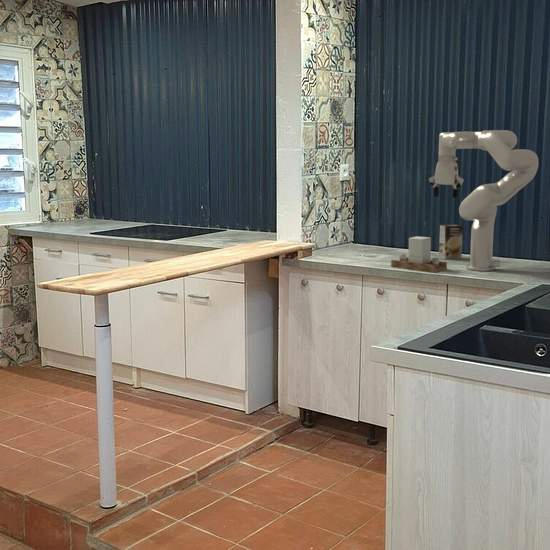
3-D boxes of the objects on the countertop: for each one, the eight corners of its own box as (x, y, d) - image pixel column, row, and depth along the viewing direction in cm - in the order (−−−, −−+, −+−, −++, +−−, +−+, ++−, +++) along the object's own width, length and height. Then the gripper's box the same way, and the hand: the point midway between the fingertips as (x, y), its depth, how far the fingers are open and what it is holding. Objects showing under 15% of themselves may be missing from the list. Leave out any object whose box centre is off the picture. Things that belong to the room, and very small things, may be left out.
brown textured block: (446, 269, 349) (447, 257, 348) (433, 272, 341) (434, 260, 340) (404, 263, 364) (404, 252, 363) (391, 267, 356) (391, 255, 355)
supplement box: (430, 265, 352) (431, 237, 350) (421, 267, 347) (422, 239, 345) (416, 263, 357) (417, 235, 355) (407, 265, 352) (408, 237, 350)
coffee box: (444, 259, 374) (445, 226, 371) (438, 257, 380) (439, 224, 377) (462, 258, 377) (463, 225, 374) (455, 256, 383) (456, 223, 380)
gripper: (467, 159, 357) (466, 197, 360) (434, 159, 368) (433, 195, 371) (459, 160, 351) (458, 198, 354) (425, 159, 362) (424, 196, 365)
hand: (445, 197), depth 363 cm, fingers open, 9 cm apart
